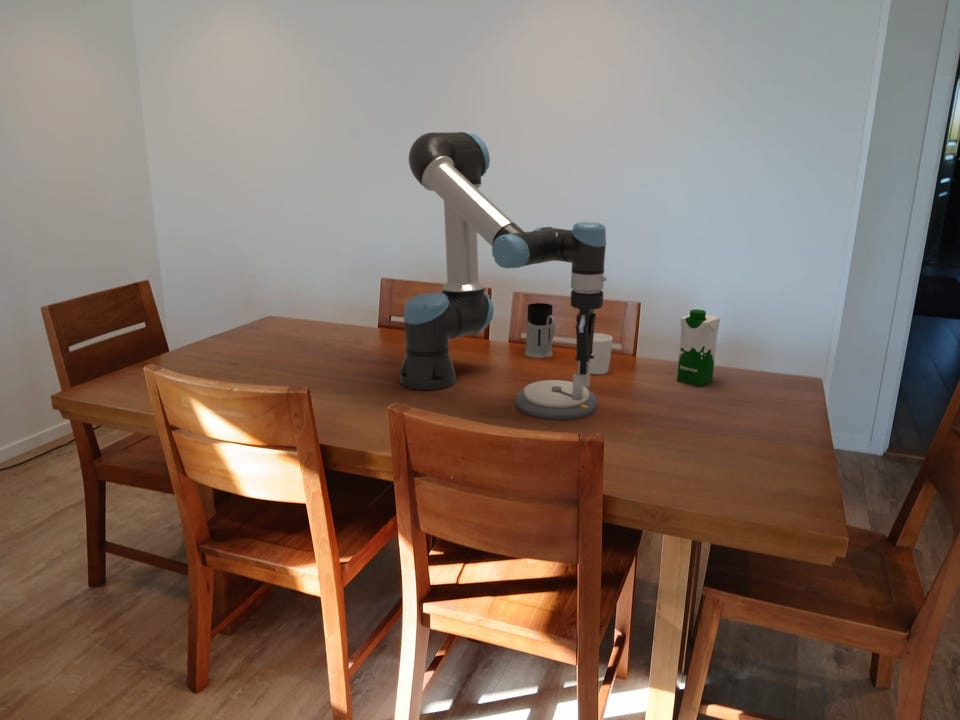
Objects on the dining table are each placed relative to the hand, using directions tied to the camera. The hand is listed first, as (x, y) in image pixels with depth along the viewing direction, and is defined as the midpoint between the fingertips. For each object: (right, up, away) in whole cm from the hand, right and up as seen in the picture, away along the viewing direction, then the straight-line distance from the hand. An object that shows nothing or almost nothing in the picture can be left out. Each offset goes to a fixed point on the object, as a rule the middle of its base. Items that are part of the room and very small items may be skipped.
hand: (583, 385), depth 177 cm
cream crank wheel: (-6, -3, +4) cm, 8 cm away
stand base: (-6, -5, +5) cm, 9 cm away
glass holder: (-6, +7, +44) cm, 45 cm away
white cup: (+8, +3, +30) cm, 32 cm away
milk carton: (+34, 0, +22) cm, 40 cm away
